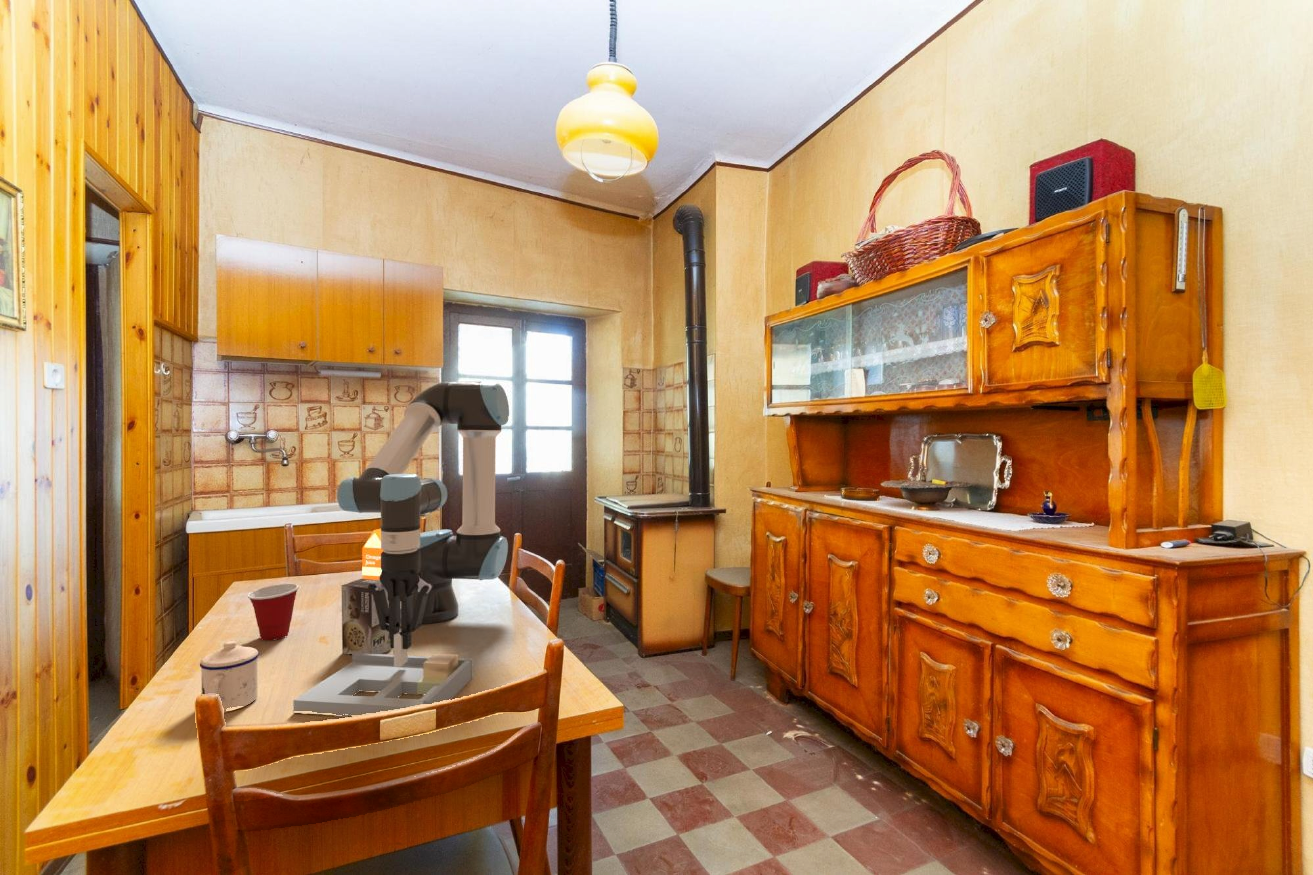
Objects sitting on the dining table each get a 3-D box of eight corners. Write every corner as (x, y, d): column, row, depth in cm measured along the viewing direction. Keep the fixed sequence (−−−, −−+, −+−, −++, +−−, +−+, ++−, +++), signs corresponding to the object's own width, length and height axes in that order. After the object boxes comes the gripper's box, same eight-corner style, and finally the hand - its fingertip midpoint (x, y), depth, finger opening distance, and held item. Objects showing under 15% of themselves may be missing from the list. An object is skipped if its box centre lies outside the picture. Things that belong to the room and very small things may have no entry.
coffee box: (392, 649, 142) (393, 581, 142) (371, 659, 136) (371, 588, 135) (362, 644, 145) (362, 577, 145) (340, 653, 139) (340, 584, 138)
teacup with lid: (213, 695, 117) (213, 635, 117) (266, 690, 119) (266, 632, 119) (182, 725, 105) (181, 659, 105) (241, 719, 108) (241, 654, 108)
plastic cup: (241, 636, 149) (241, 588, 148) (291, 626, 157) (291, 580, 156) (253, 648, 141) (253, 597, 141) (305, 636, 149) (305, 588, 149)
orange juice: (361, 594, 187) (361, 529, 186) (379, 586, 195) (379, 525, 195) (384, 595, 185) (385, 530, 185) (401, 588, 194) (401, 526, 194)
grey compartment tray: (355, 671, 129) (355, 652, 129) (472, 677, 127) (472, 658, 126) (291, 714, 110) (291, 693, 110) (428, 723, 107) (428, 701, 107)
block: (434, 667, 125) (435, 653, 125) (458, 668, 125) (458, 654, 125) (423, 677, 120) (423, 662, 120) (447, 679, 120) (447, 664, 120)
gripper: (359, 552, 120) (360, 669, 121) (422, 554, 119) (422, 672, 120) (380, 545, 128) (380, 655, 128) (439, 547, 127) (439, 658, 127)
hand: (400, 663), depth 124 cm, fingers closed
